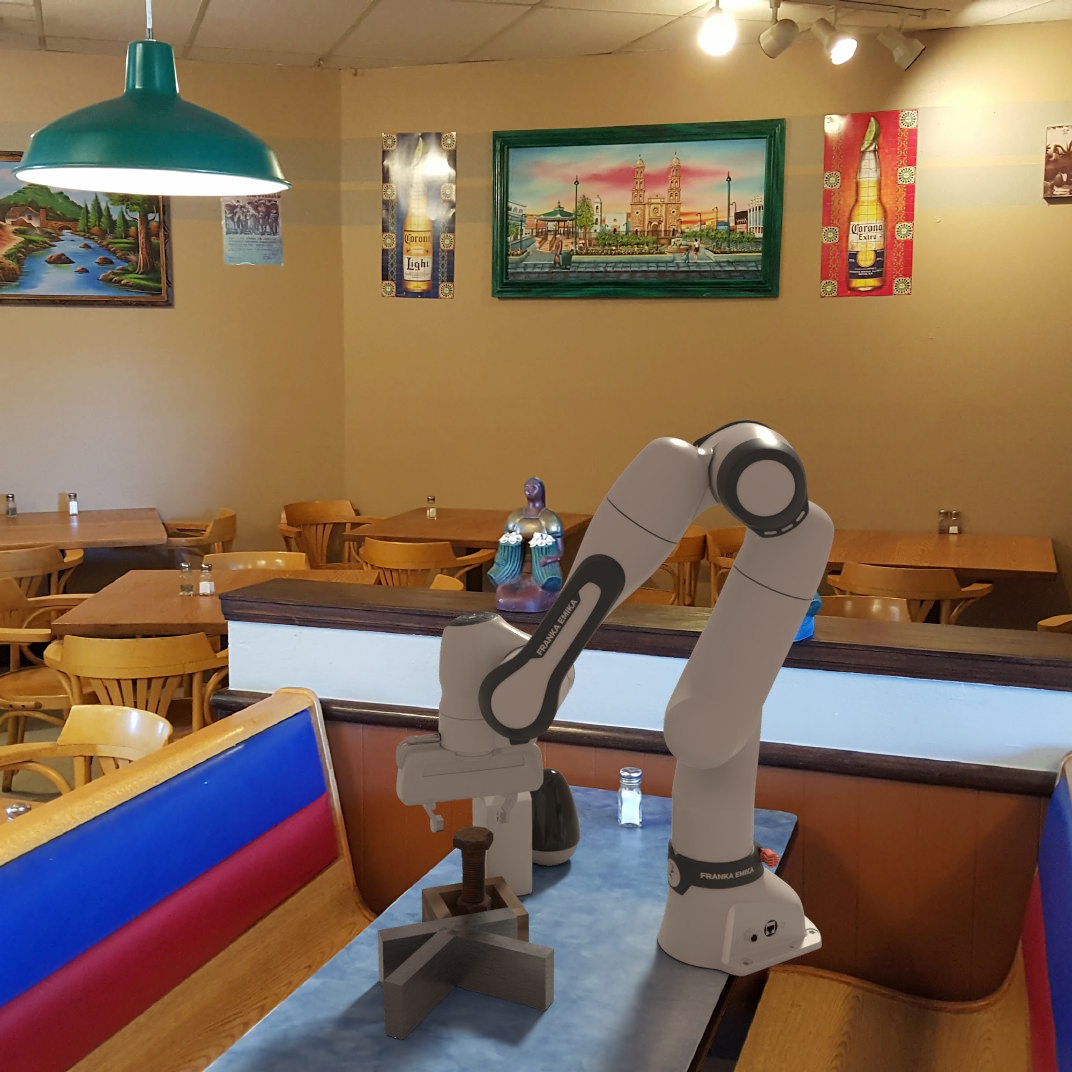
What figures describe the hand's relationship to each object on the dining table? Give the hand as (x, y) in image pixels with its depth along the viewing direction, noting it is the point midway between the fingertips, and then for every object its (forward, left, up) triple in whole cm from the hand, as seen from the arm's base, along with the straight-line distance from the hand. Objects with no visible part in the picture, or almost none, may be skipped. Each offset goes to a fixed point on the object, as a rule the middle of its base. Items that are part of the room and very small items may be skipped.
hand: (470, 826), depth 156 cm
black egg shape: (-18, -19, -16) cm, 31 cm away
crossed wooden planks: (+6, +14, -16) cm, 22 cm away
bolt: (0, 0, -16) cm, 16 cm away
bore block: (0, 0, -16) cm, 16 cm away
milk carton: (-8, -12, -16) cm, 22 cm away
